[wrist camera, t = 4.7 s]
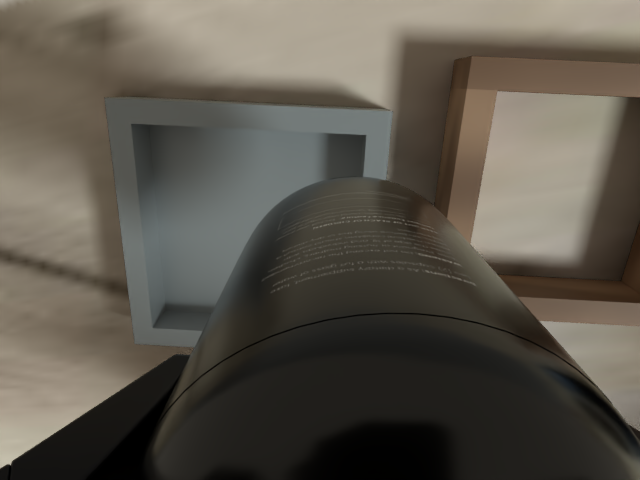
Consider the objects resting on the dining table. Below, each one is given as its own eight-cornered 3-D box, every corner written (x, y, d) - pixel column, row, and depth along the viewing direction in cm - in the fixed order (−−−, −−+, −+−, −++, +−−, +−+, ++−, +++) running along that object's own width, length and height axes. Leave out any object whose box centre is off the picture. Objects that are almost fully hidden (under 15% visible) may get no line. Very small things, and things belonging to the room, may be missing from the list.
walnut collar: (637, 302, 22) (673, 327, 20) (422, 291, 23) (432, 314, 20) (715, 72, 19) (770, 69, 16) (454, 60, 19) (472, 55, 16)
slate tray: (365, 333, 24) (368, 357, 22) (152, 321, 24) (134, 344, 22) (386, 108, 20) (392, 111, 17) (128, 96, 20) (104, 97, 18)
